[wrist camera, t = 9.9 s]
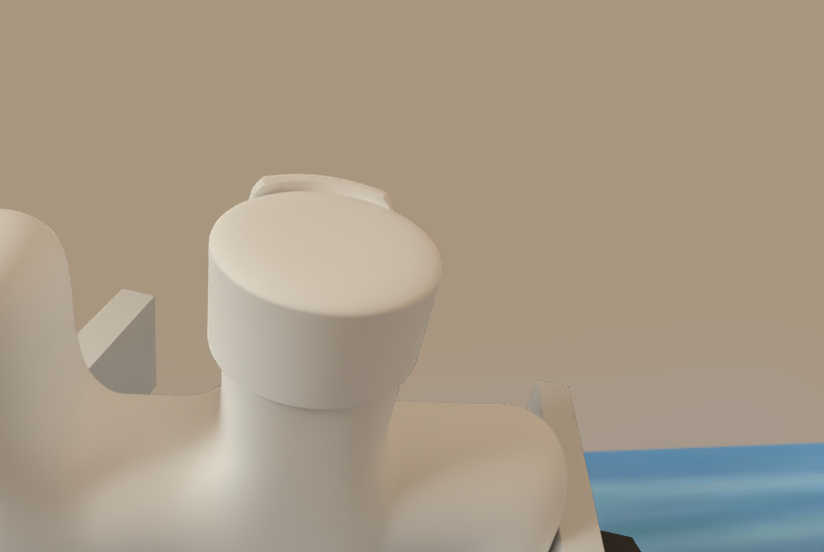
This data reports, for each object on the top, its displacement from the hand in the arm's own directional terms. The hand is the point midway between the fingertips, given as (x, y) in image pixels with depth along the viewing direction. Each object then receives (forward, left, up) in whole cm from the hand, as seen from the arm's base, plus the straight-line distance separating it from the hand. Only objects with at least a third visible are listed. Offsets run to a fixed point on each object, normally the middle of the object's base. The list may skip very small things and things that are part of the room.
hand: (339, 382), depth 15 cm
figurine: (+2, -4, -9) cm, 10 cm away
